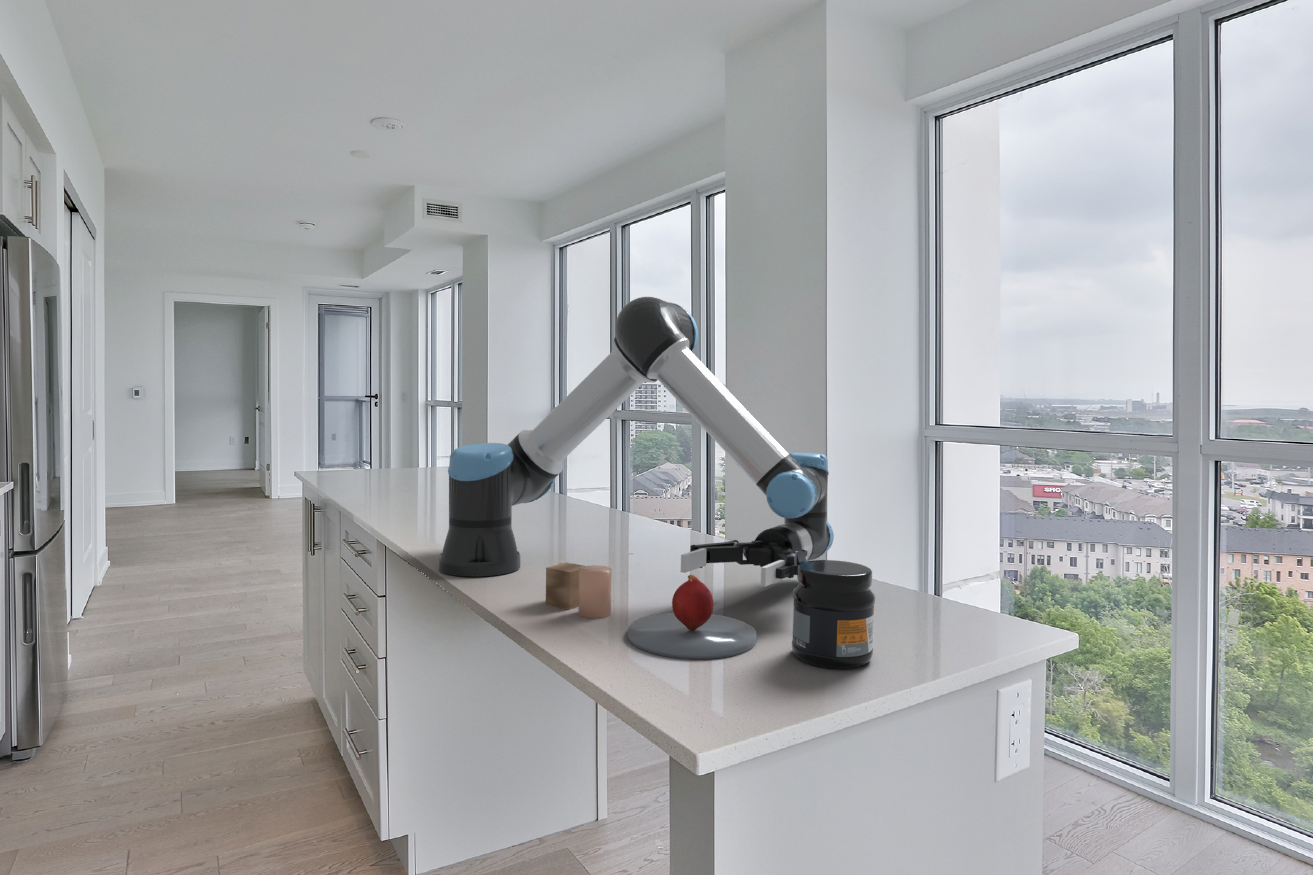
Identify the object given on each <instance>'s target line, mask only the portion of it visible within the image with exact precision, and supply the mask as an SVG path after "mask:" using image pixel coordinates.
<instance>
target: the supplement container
mask: <svg viewBox="0 0 1313 875" xmlns="http://www.w3.org/2000/svg"><path fill="white" fill-rule="evenodd" d="M796 579H797V581H798V584H797V585H796V586H795V587H794V588H793V590H792V598H793V609H792V610H793V611H792V613H793V614H792V640H791V650H792V652H793V655H795V656H796V657H797V658H798V659H799V660H801V661H802V662H805V663H807V664H810V665H812V666H816V667H819V668H827V669H836V670H837V669H838V670H847V669H856V668H859V666H860V667H861V666H864V665H865V664H866V665H867V663H869V662H870V661H871V659H872V657H873V654H874V648H873V644H874V641H873V640H874V617H875V603H876V596H875V594H874V592H873V590H872V589H871V588H870V587H872V585H873V584H872V583H873V570H872V569H871V568H870V567H868V566H866V565H863V564H860V563H856V562H851V561H846V560H835V559H834V560H833V559H813V560H809V561H807V562H803V563H801V564H799V565H798V573H797V575H796ZM855 667H856V668H855Z"/></svg>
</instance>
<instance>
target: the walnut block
mask: <svg viewBox="0 0 1313 875" xmlns="http://www.w3.org/2000/svg"><path fill="white" fill-rule="evenodd" d="M584 566H585V565H583V564H577V563H574V562H573V563H572V562H562V563H559V564H555V565H550V566H547V567H545V605H547V606H551V607H556V608H560V609H565V610H568V611H570V610H573V609H576V608H578V601H579V568H581V567H584Z"/></svg>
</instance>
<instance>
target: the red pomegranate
mask: <svg viewBox="0 0 1313 875" xmlns="http://www.w3.org/2000/svg"><path fill="white" fill-rule="evenodd" d="M687 578H688V579H687V581H685V582H683V583H682V584H680V586H678V587H677V588H676V590H675V592H674V593H673V596H672V601H671V605H672V607H671V608H672V613H674V615H675V617H676V618H677V619H678V620H679V621H680V622H681V623H682V624H684V625H685V626H686V627H687V629H688V630H690V631H694V630H696V629H697V628H699V627H700V626H702V625H703V624H705V623H706V622H707V621H708V620H709V618H710V617H711V615H712V614H713V612H714V607H715V606H714V598H713V594H712V592H711V591H710V589H709V588H708V586H707V585H706V584H705V583H703V582H702V581H700V579H698V577H697V576H696V575H695V574H692V573H691V574H689V575H687Z"/></svg>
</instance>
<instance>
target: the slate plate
mask: <svg viewBox="0 0 1313 875" xmlns="http://www.w3.org/2000/svg"><path fill="white" fill-rule="evenodd" d="M627 639H628V641H629V643H630V644H631V645H633V646H634V647H636V648H637V649H639V650H642V651H644V652H647V653H650V654H653V655H655V656H656V655H657V656H662V657H667V658H673V659H674V658H676V659H681V660H683V659H685V660H712V659H715V660H716V659H723V658H724V659H725V658H729V657H730V658H731V657H734V656H739V655H741V654H744V653H746V652H748V651H750V650H751V649H753V648H754V647H755V646H756V644H757V630H755V628H754V627H753V626H752V625H750V624H748V623H747V622H744V621H743V620H739V619H737V618H733V617H729V616H725V615H721V614H720V615H719V614H715V613H714V614H713V613H712V615H711V617H710V618H709V620H708V621H707V622H706V623H705V624H703V625H702V626H700V627H699V628H697V629H696V630H694V631H690V630H688V629H687V627H686V626H685V625H684V624H682V623H681V622H680V621H679V620H678V619H677V618H676V617H675V615H674V613H673V612H666V613H659V614H652V615H647V616H645V617H641V618H639V619H637V620H635V621H633V622H632V623H630V624H629V625H628V628H627Z"/></svg>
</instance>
